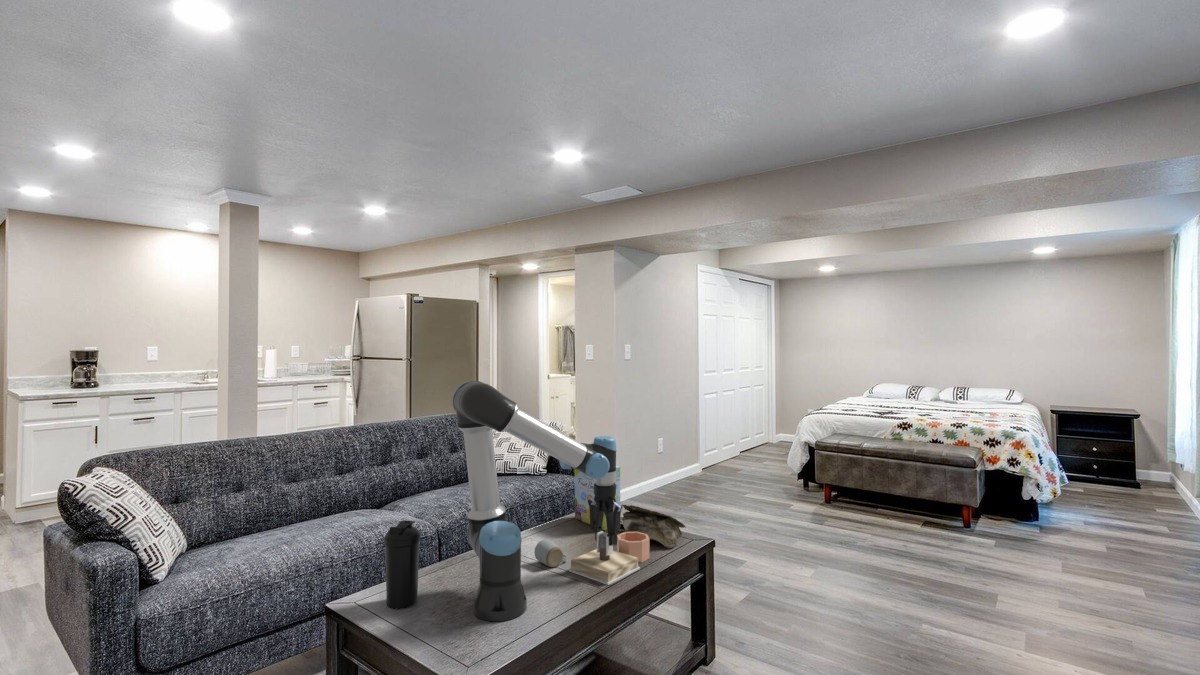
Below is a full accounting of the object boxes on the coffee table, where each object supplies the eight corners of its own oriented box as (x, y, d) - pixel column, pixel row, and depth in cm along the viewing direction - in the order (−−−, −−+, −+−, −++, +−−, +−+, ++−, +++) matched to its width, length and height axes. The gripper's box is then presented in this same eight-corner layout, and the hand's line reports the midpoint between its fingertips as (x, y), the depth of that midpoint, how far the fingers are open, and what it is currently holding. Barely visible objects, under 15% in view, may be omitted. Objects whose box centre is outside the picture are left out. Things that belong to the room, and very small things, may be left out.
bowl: (636, 564, 196) (636, 544, 196) (611, 557, 203) (611, 537, 203) (654, 555, 205) (654, 536, 205) (630, 548, 212) (630, 529, 212)
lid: (608, 582, 180) (608, 546, 181) (570, 569, 191) (571, 535, 191) (638, 567, 193) (638, 533, 193) (601, 555, 203) (601, 524, 203)
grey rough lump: (622, 542, 232) (604, 521, 225) (637, 516, 238) (619, 494, 231) (677, 559, 212) (659, 536, 205) (692, 529, 218) (674, 506, 211)
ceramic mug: (546, 570, 191) (547, 547, 191) (533, 563, 198) (534, 540, 198) (572, 563, 198) (572, 541, 198) (559, 556, 204) (559, 535, 204)
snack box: (572, 519, 247) (573, 459, 247) (588, 515, 252) (588, 457, 252) (605, 532, 230) (606, 468, 230) (621, 527, 236) (621, 465, 236)
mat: (608, 585, 180) (608, 583, 180) (568, 571, 191) (568, 569, 191) (640, 568, 193) (640, 567, 193) (601, 556, 204) (601, 555, 204)
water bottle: (426, 596, 171) (427, 519, 172) (408, 612, 161) (408, 530, 162) (396, 593, 173) (396, 517, 174) (376, 609, 163) (376, 528, 164)
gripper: (631, 484, 190) (631, 555, 189) (593, 477, 200) (593, 544, 200) (617, 489, 184) (616, 562, 184) (579, 481, 194) (579, 550, 194)
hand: (604, 552), depth 192 cm, fingers closed on lid, 3 cm apart
